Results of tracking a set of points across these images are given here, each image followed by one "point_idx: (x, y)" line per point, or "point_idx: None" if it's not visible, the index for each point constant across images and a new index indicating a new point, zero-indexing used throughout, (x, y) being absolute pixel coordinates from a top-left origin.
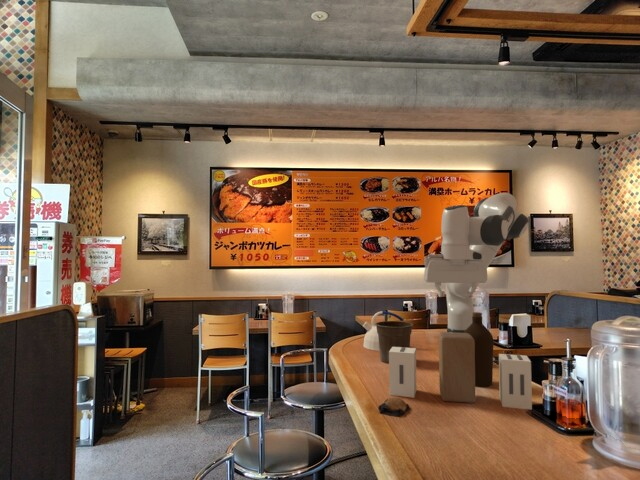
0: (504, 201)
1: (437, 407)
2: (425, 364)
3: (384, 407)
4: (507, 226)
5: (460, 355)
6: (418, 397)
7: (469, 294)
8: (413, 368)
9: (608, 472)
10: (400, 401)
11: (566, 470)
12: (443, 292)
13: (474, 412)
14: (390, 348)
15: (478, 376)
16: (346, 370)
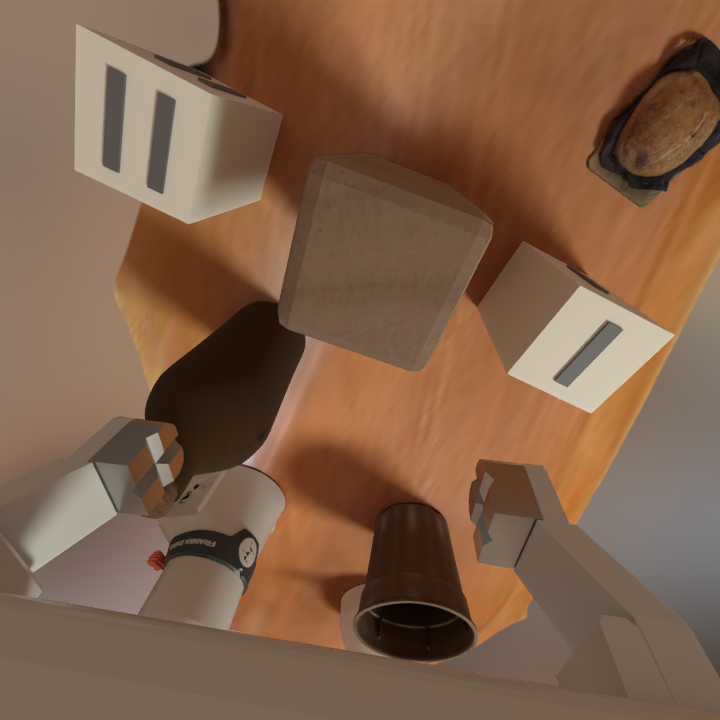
0: None
1: (501, 132)
2: (345, 489)
3: None
4: None
5: (398, 173)
6: (508, 239)
7: (139, 435)
8: (556, 266)
9: None
10: (671, 107)
11: None
12: (509, 503)
13: (402, 62)
14: (438, 544)
15: (272, 316)
16: (582, 485)
